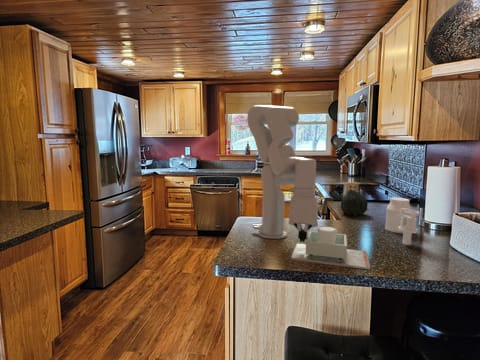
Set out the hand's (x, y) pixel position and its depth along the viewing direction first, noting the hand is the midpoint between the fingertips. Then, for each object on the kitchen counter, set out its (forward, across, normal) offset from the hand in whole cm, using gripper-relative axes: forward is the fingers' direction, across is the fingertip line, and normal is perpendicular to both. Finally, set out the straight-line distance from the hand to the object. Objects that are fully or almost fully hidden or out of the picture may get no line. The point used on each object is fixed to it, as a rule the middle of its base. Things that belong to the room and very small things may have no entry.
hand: (302, 240), depth 117 cm
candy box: (+4, +19, +100) cm, 101 cm away
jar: (+5, +39, +49) cm, 63 cm away
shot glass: (+2, +9, 0) cm, 9 cm away
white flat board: (+5, +10, 0) cm, 11 cm away
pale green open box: (+4, +9, 0) cm, 9 cm away
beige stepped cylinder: (+5, +40, +27) cm, 48 cm away
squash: (+5, +20, +74) cm, 77 cm away
